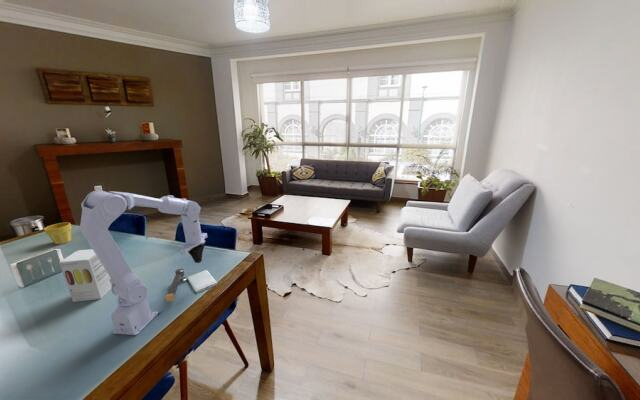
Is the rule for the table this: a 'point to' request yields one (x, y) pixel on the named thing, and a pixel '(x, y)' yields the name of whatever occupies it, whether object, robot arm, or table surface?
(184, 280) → the door knob
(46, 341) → the table surface
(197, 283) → the hard drive
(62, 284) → the table surface
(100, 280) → the supplement box
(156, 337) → the table surface
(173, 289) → the grey bar
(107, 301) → the table surface
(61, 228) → the plant pot
